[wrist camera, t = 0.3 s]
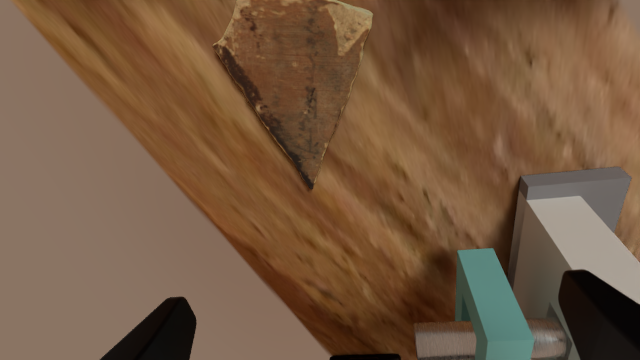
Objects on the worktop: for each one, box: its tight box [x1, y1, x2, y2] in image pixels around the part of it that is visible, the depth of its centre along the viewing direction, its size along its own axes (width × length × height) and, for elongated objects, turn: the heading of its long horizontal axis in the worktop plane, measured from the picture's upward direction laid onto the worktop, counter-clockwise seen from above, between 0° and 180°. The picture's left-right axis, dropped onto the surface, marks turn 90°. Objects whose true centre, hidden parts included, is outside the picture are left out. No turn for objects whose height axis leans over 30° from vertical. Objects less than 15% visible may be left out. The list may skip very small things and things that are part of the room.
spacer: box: [455, 248, 534, 360], centre depth 21 cm, size 2×7×6 cm, turn 10°
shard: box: [212, 0, 373, 189], centre depth 21 cm, size 11×8×2 cm
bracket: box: [507, 167, 640, 360], centre depth 22 cm, size 6×12×10 cm, turn 9°
